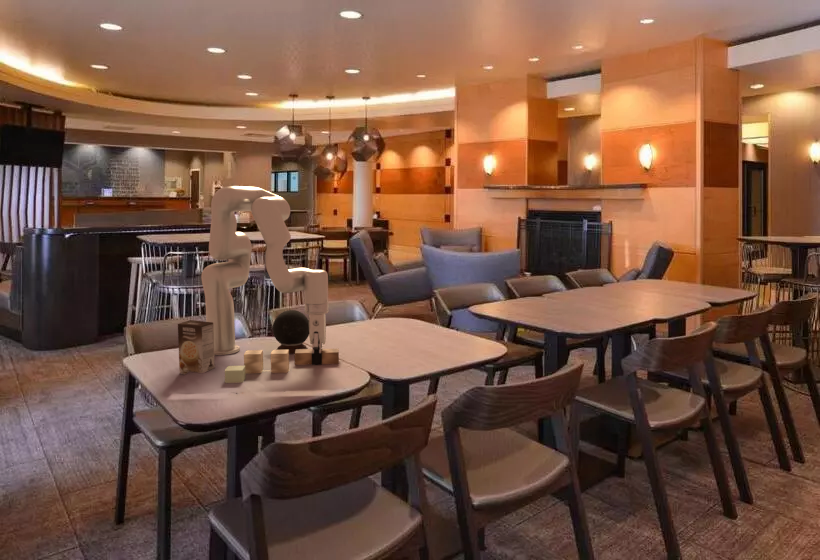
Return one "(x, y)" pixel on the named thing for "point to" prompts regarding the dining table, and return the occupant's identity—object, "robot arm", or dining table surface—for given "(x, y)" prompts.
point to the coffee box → (196, 346)
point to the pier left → (253, 361)
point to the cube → (235, 374)
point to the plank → (306, 356)
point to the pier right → (279, 361)
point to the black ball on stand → (291, 330)
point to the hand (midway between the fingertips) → (317, 362)
